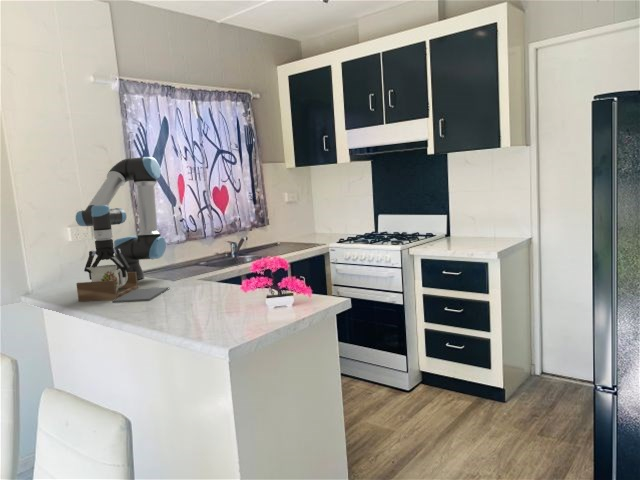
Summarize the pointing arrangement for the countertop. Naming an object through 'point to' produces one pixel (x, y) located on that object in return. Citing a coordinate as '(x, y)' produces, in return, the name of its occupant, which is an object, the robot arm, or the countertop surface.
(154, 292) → the rubber mat
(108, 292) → the walnut cradle
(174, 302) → the countertop surface
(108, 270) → the pitcher
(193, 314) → the countertop surface
